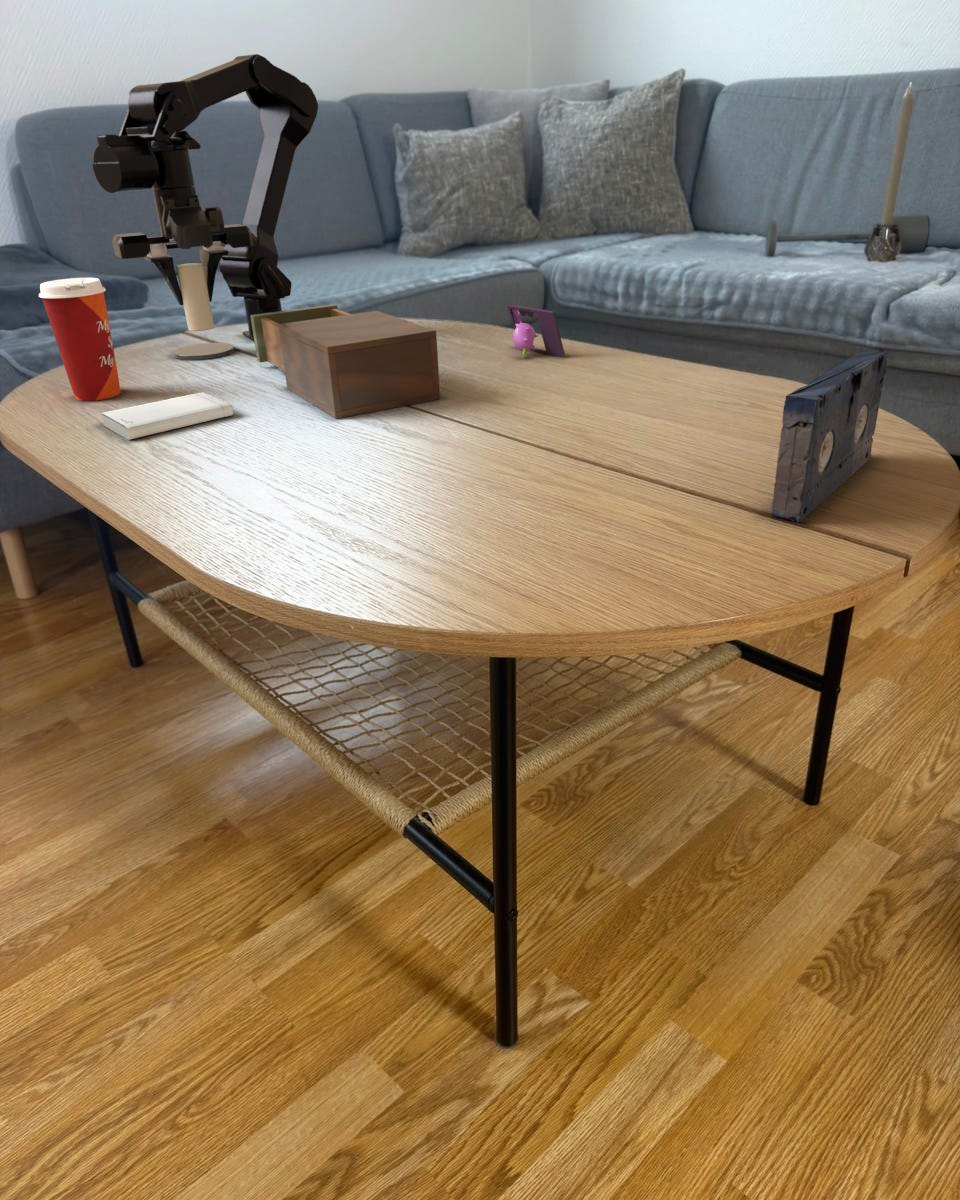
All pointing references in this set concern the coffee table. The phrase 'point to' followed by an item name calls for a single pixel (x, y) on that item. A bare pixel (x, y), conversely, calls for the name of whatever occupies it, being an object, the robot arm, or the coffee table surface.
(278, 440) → the coffee table surface
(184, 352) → the coaster
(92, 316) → the paper cup
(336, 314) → the drawer
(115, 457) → the coffee table surface
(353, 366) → the cabinet
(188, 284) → the candle
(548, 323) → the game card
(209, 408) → the hard drive
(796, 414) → the vhs cassette tape
